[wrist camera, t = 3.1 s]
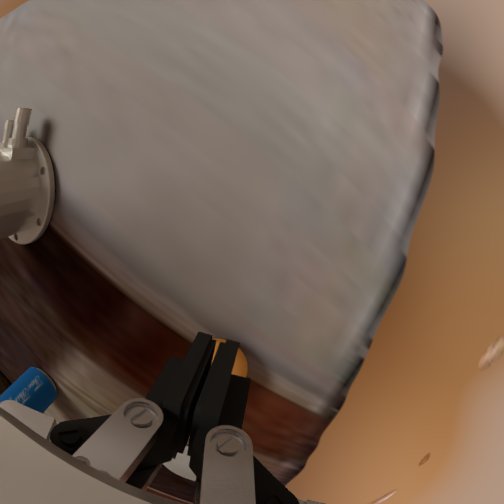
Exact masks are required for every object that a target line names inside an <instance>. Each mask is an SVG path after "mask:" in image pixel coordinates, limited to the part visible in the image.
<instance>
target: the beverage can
mask: <svg viewBox="0 0 504 504" xmlns="http://www.w3.org/2000/svg"><path fill="white" fill-rule="evenodd" d="M56 397H57V391H56V387H55V384H54V382H53V381H52V379H51V378H50V377H49V376H48V375H47V374H46V373H45V372H44V371H43V370H41V369H39V368H35V367H30V368H29V369H28V370H27V371H26V372H24V373H23V374H22V375H21V376H20V377H19V378H18V379H17V380H16V381H15V382H14V383H13V384H12V385H11V386H10V387H9V388H8V389H7V390H6V391H5V392H4V393H3V394H2V395H1V396H0V403H1V402H3V401H5V400H13V401H16V402H18V403H20V404H22V405H24V406H27V407H29V408H31V409H33V410H36V411H38V412H40V413H44V411H45V410H46V409H47V408H48V407H49V406H50V404H51V403H52V402H53V401H54V400H55V399H56Z"/></svg>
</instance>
